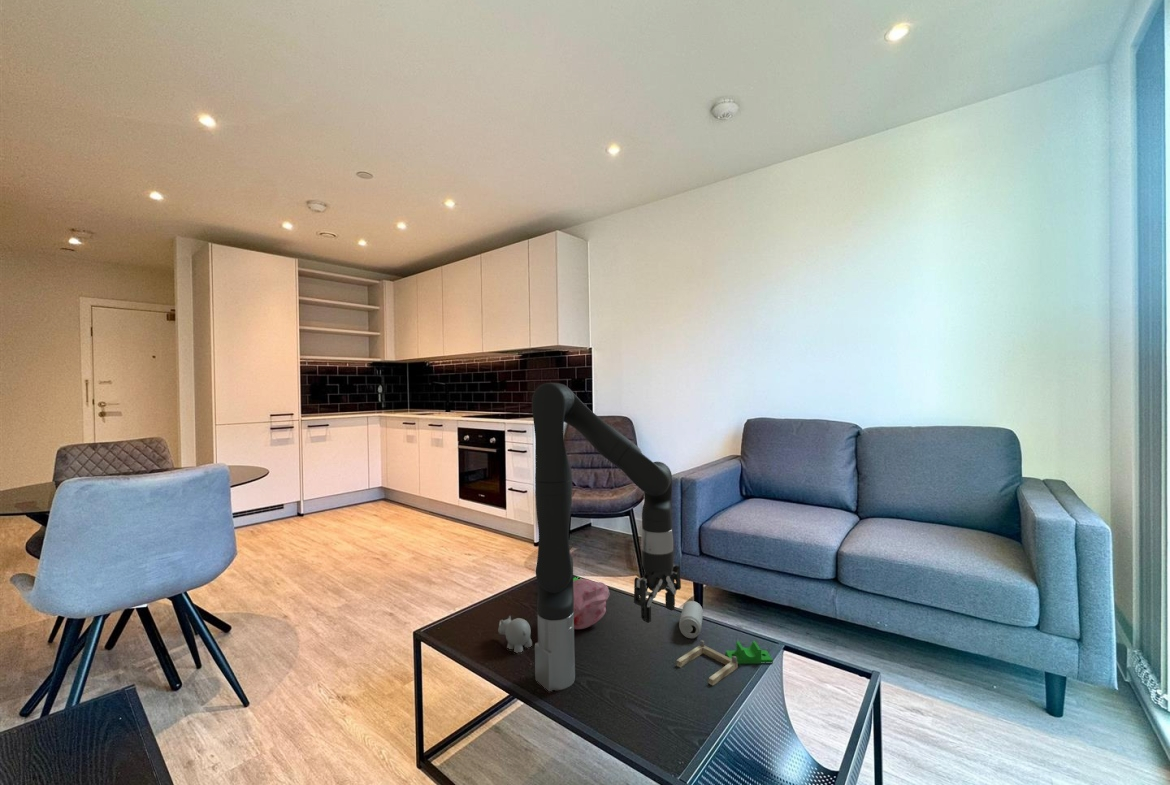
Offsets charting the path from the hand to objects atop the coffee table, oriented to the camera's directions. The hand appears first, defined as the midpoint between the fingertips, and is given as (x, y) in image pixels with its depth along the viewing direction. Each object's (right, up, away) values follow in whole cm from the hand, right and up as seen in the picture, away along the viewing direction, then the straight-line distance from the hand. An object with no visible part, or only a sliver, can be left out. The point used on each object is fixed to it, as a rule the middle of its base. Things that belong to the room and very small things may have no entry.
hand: (658, 615), depth 107 cm
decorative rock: (-19, -21, +34) cm, 44 cm away
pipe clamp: (+25, -17, +19) cm, 36 cm away
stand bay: (+15, -20, +12) cm, 27 cm away
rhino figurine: (-38, -21, +24) cm, 50 cm away
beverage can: (+17, -17, +37) cm, 44 cm away
